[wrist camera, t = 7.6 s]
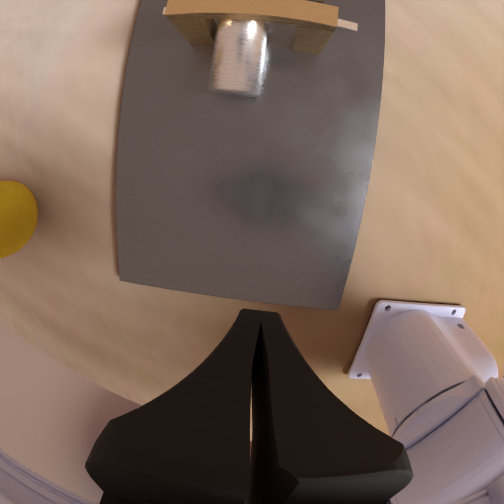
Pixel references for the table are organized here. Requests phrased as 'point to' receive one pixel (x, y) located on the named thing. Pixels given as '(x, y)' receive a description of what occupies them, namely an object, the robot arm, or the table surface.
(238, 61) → the tube
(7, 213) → the lemon
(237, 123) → the plate
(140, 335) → the table surface
